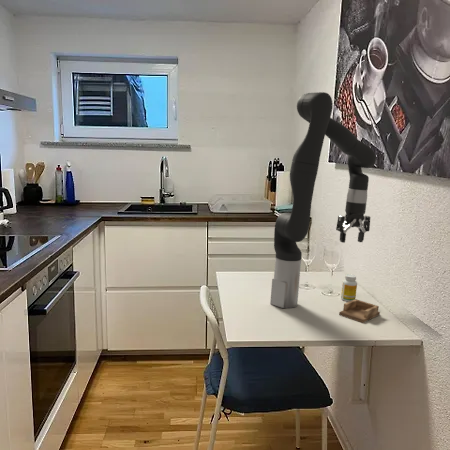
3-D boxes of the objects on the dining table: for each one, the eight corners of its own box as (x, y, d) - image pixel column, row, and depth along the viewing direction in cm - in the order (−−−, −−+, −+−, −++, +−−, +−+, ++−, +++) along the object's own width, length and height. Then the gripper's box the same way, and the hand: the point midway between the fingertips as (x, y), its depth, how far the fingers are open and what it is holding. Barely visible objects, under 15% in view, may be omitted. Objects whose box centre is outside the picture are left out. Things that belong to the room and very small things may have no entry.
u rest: (362, 322, 158) (363, 312, 157) (339, 314, 164) (340, 305, 163) (379, 314, 166) (380, 305, 166) (356, 307, 172) (357, 298, 172)
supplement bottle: (338, 297, 182) (340, 273, 180) (349, 297, 184) (352, 273, 182) (346, 302, 177) (348, 278, 175) (358, 301, 179) (360, 277, 177)
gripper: (347, 202, 175) (342, 244, 178) (377, 202, 181) (372, 243, 184) (335, 199, 182) (330, 240, 185) (364, 200, 188) (359, 239, 190)
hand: (351, 242), depth 184 cm, fingers open, 8 cm apart
